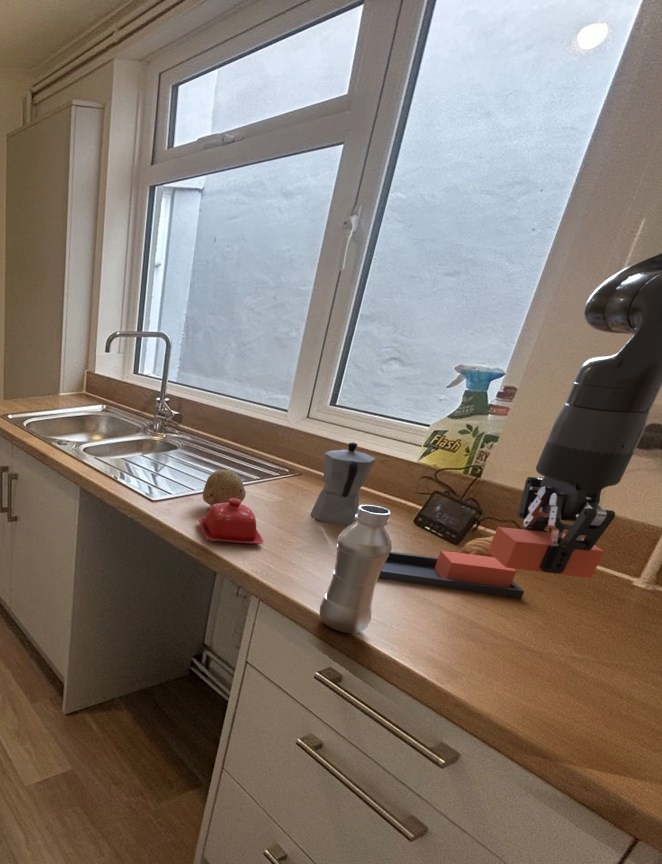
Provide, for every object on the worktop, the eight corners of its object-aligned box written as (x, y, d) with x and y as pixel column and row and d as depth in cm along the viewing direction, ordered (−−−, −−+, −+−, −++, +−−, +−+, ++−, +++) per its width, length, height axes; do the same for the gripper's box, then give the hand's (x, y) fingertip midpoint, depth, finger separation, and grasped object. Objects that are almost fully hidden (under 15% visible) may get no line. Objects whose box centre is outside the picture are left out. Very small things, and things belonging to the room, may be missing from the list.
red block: (494, 577, 95) (502, 558, 93) (508, 591, 91) (517, 571, 89) (433, 569, 98) (440, 550, 96) (444, 582, 94) (452, 562, 92)
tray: (492, 575, 97) (496, 565, 96) (519, 602, 89) (524, 591, 88) (356, 556, 104) (358, 547, 103) (369, 580, 96) (372, 569, 95)
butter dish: (265, 549, 107) (273, 510, 104) (205, 545, 109) (212, 507, 106) (249, 526, 118) (256, 490, 115) (195, 522, 120) (201, 487, 117)
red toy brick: (567, 561, 73) (579, 535, 72) (591, 578, 69) (604, 551, 67) (487, 551, 76) (497, 526, 75) (505, 567, 72) (516, 541, 70)
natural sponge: (249, 510, 126) (256, 471, 122) (229, 520, 121) (236, 479, 117) (214, 499, 133) (220, 462, 129) (193, 508, 128) (199, 469, 124)
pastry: (486, 569, 99) (493, 551, 97) (447, 554, 105) (453, 536, 103) (519, 561, 102) (526, 543, 100) (479, 546, 108) (485, 529, 106)
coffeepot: (308, 505, 129) (326, 433, 122) (354, 511, 125) (374, 438, 118) (311, 528, 116) (331, 450, 109) (362, 536, 112) (386, 456, 105)
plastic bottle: (371, 642, 79) (411, 521, 71) (320, 633, 81) (353, 514, 73) (360, 619, 84) (395, 504, 77) (312, 611, 87) (342, 498, 79)
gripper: (676, 461, 58) (609, 592, 65) (591, 431, 71) (542, 544, 77) (588, 455, 61) (532, 582, 67) (521, 427, 73) (479, 536, 80)
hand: (538, 561), depth 72 cm, fingers closed on red toy brick, 5 cm apart
